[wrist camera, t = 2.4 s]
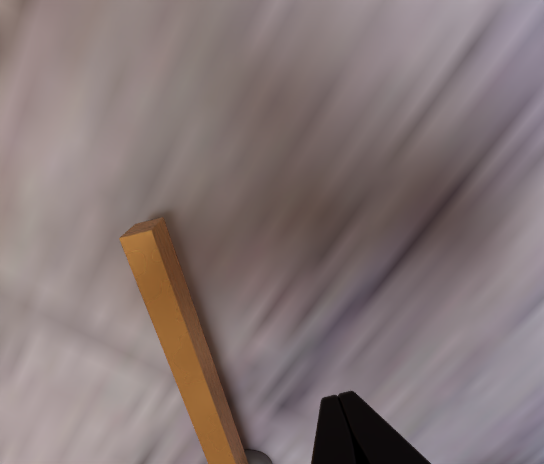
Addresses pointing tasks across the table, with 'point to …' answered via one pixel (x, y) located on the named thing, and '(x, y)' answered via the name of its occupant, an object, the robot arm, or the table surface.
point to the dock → (256, 457)
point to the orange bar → (182, 339)
